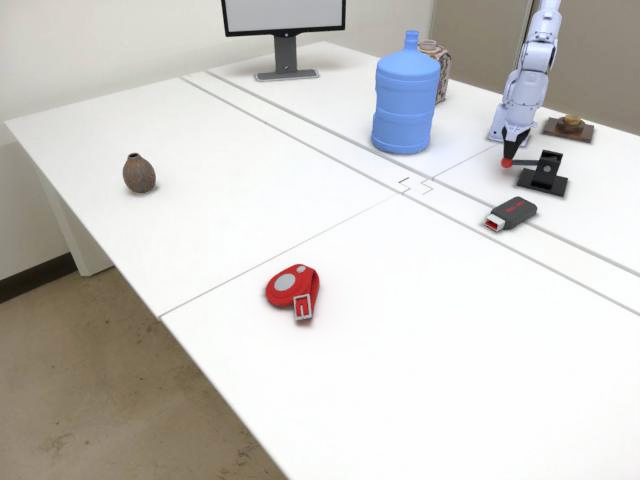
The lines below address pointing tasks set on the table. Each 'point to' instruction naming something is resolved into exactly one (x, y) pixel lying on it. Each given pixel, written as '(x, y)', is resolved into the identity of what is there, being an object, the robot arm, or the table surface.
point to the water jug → (405, 99)
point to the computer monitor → (283, 27)
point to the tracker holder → (295, 289)
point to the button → (572, 119)
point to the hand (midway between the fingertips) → (508, 157)
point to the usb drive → (510, 214)
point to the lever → (522, 162)
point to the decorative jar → (444, 60)
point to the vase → (138, 174)
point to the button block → (569, 130)
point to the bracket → (545, 176)
